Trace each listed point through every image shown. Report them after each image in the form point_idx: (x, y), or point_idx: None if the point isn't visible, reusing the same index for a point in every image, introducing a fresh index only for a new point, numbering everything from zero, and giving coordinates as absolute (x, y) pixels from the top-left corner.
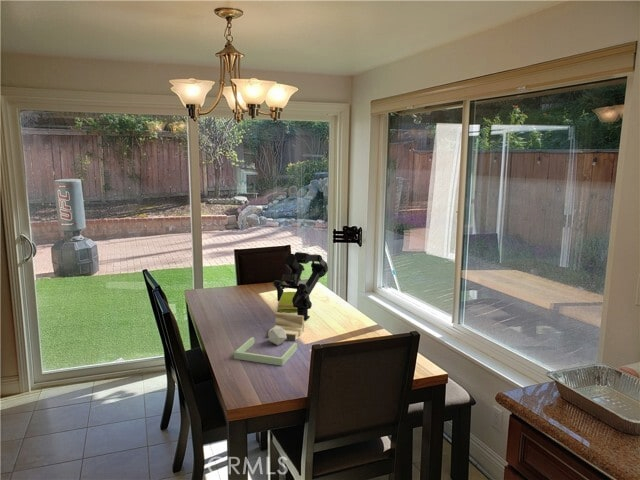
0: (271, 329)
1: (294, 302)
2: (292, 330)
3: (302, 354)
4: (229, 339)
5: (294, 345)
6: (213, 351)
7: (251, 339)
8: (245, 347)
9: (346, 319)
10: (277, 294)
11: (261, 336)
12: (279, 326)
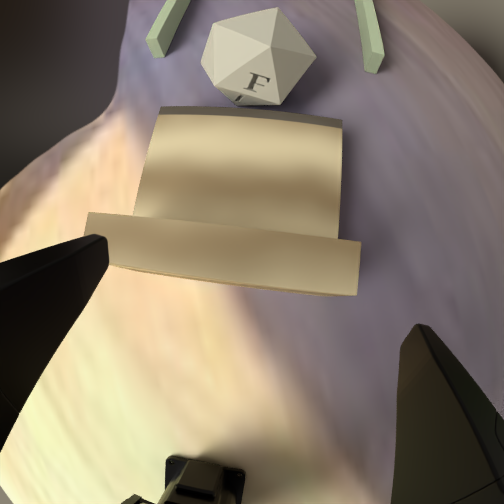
0: (291, 31)
1: (88, 238)
2: (185, 172)
3: (133, 36)
4: (475, 111)
5: (155, 21)
6: (448, 29)
7: (370, 35)
8: (360, 9)
9: (12, 452)
10: (486, 398)
11: (373, 149)
12: (297, 227)
